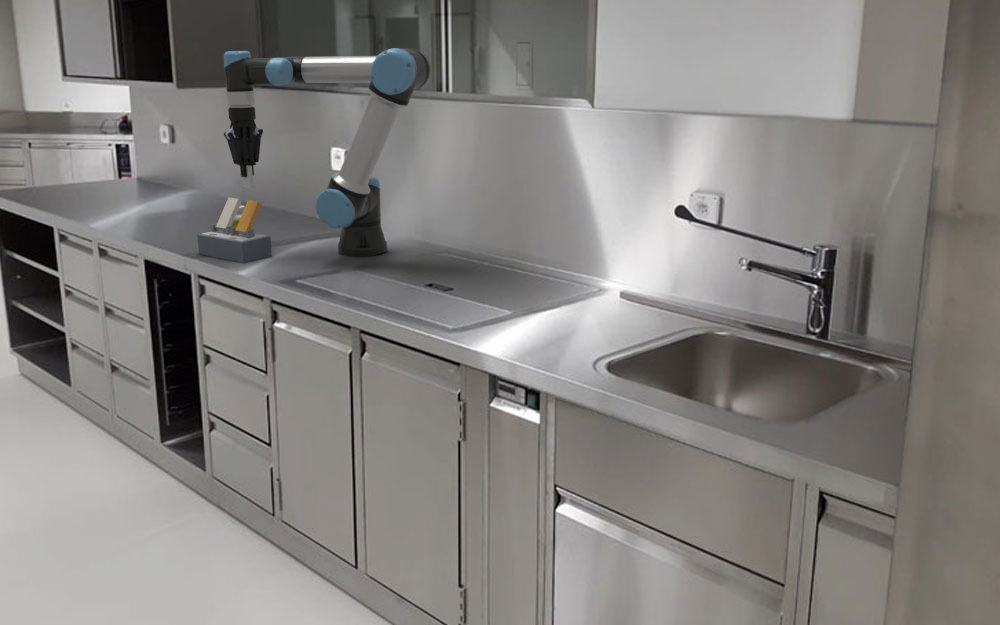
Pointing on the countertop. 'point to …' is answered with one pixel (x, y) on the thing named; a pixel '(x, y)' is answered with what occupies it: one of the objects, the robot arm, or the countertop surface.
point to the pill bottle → (238, 216)
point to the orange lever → (248, 217)
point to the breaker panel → (234, 245)
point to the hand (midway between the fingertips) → (248, 187)
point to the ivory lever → (228, 214)
